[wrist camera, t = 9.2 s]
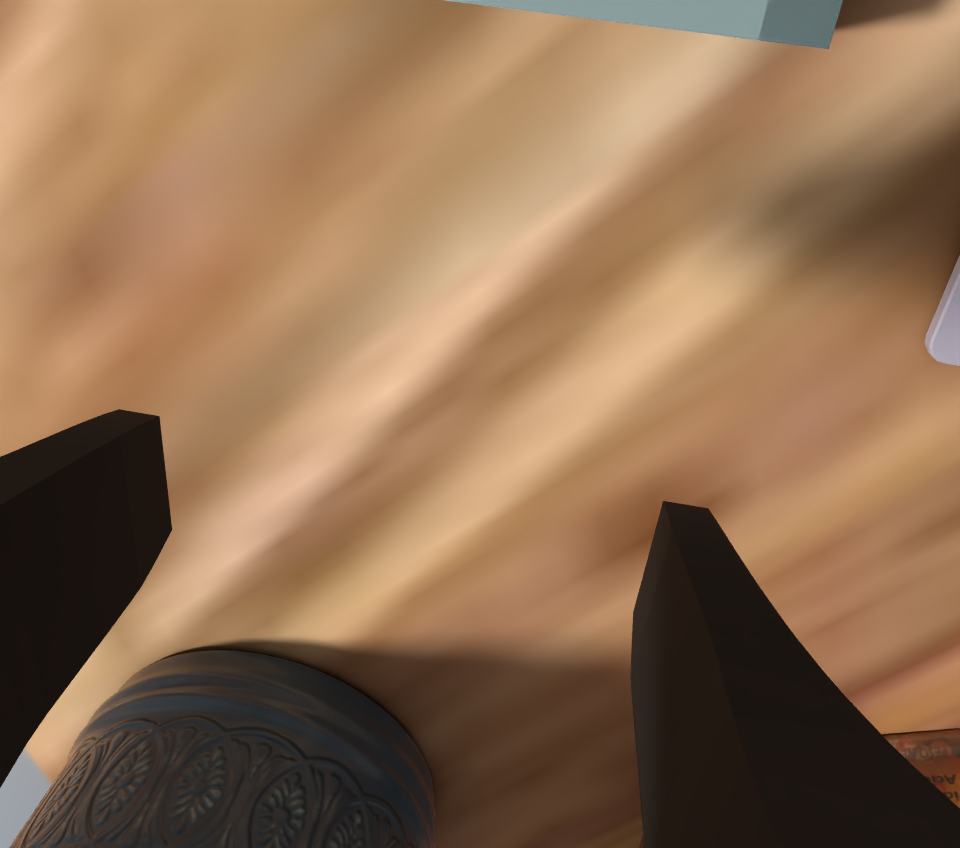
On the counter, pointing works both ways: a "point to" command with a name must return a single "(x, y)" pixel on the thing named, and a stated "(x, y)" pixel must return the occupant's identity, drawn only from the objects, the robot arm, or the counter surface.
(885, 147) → the counter surface
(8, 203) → the counter surface
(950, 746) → the tin
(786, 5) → the link
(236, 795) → the canister
